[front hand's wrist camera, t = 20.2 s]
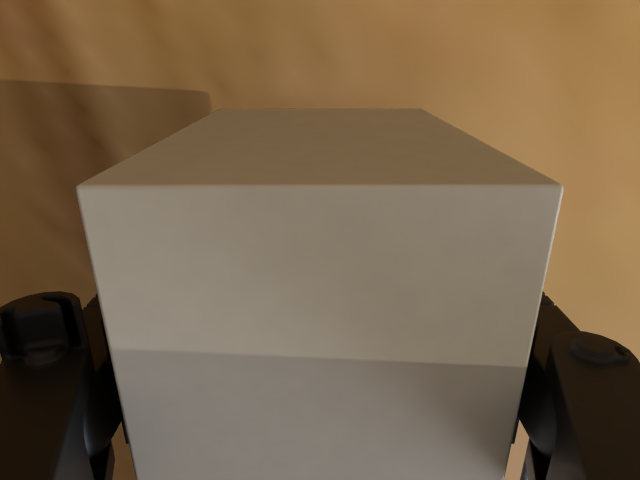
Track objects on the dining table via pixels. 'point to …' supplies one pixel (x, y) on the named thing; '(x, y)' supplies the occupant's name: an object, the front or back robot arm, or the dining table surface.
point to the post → (319, 295)
